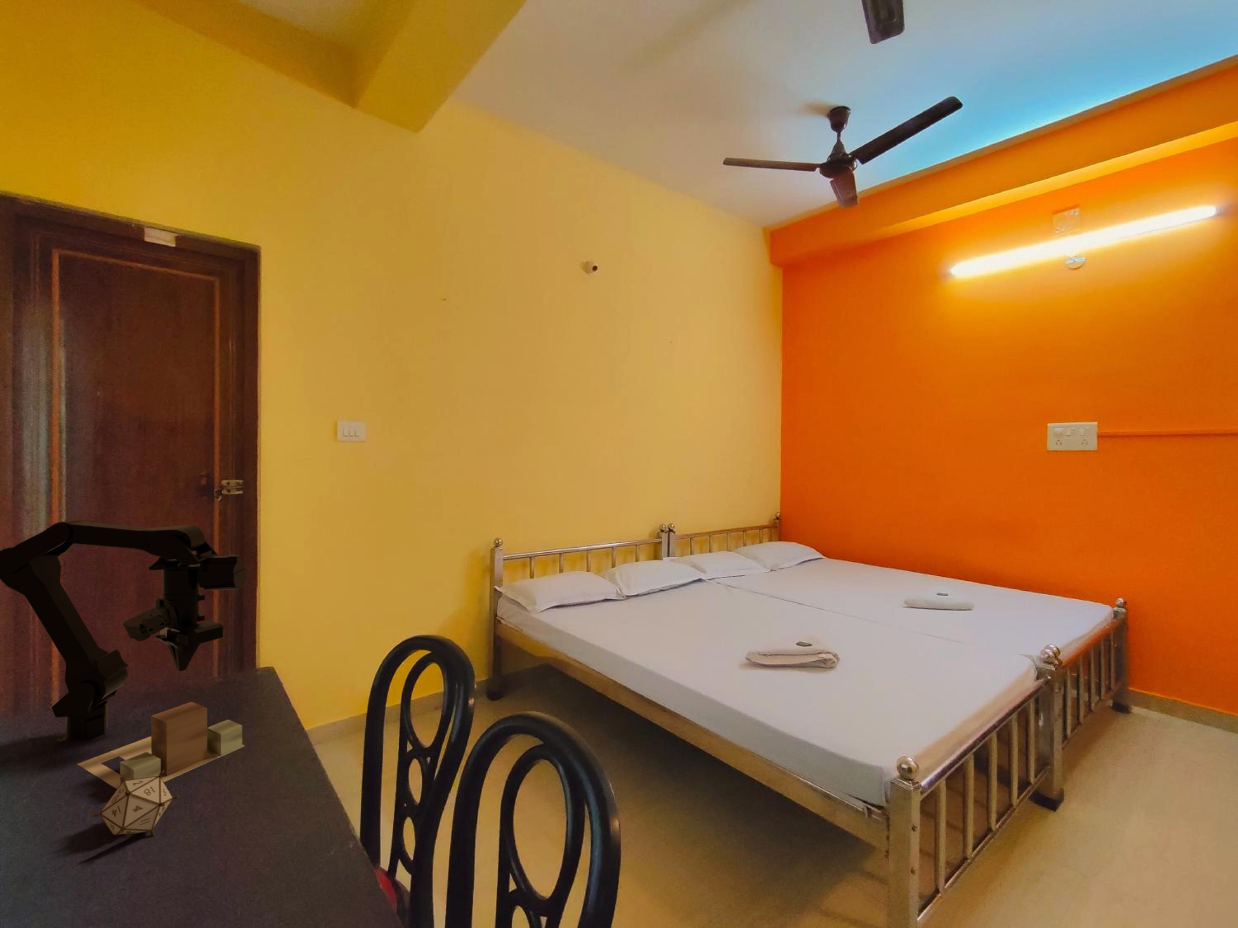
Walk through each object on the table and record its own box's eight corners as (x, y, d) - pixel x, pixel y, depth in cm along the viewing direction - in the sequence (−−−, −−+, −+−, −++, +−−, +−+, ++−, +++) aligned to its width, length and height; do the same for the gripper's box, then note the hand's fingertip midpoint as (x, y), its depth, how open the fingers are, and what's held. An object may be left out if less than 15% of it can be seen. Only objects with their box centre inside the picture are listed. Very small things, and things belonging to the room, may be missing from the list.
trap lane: (77, 770, 95) (76, 740, 95) (190, 727, 110) (190, 701, 110) (130, 804, 86) (130, 771, 86) (245, 751, 102) (245, 724, 101)
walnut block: (151, 767, 94) (151, 715, 94) (191, 750, 99) (191, 701, 99) (166, 776, 92) (166, 722, 92) (207, 758, 97) (207, 707, 97)
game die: (138, 865, 79) (114, 839, 73) (94, 835, 81) (67, 807, 75) (198, 803, 86) (181, 775, 80) (156, 777, 88) (137, 747, 82)
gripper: (106, 593, 105) (106, 675, 105) (156, 608, 96) (157, 696, 97) (174, 581, 115) (174, 656, 115) (226, 594, 106) (226, 674, 107)
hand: (181, 670), depth 108 cm, fingers closed
